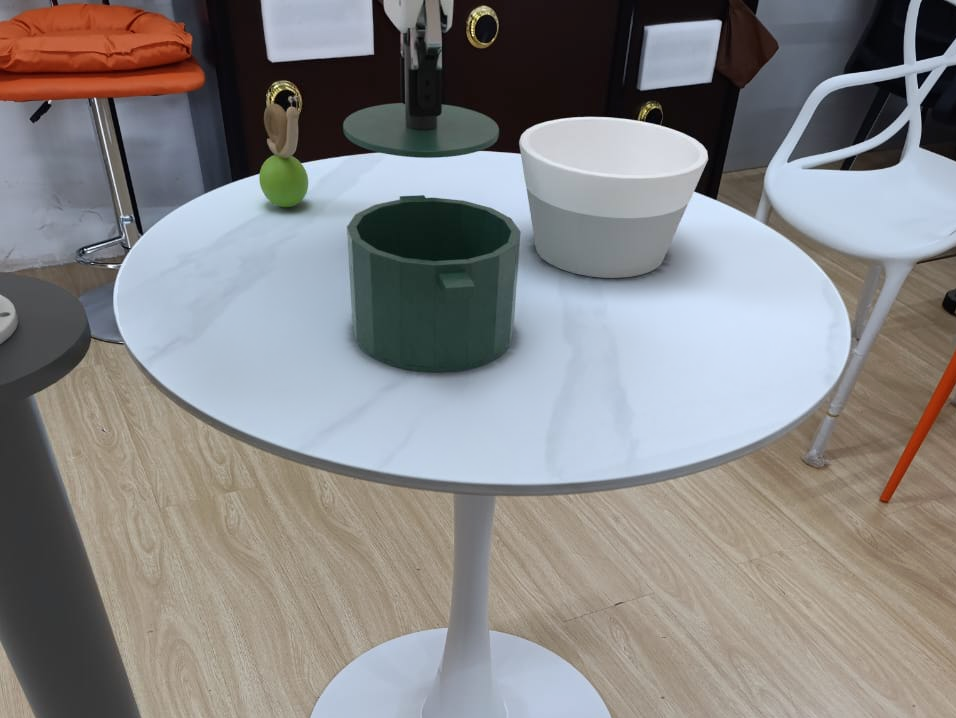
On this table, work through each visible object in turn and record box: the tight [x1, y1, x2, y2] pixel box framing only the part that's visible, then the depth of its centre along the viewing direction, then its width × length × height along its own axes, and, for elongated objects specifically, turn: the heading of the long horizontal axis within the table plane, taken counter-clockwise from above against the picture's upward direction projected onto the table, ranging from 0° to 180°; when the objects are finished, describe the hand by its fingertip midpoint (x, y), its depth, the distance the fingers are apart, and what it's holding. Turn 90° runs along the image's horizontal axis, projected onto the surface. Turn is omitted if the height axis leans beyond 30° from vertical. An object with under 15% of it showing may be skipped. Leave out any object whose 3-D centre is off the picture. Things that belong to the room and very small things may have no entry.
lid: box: [342, 40, 500, 159], centre depth 90 cm, size 16×16×8 cm
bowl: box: [518, 116, 709, 279], centre depth 97 cm, size 19×19×11 cm
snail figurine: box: [258, 94, 309, 208], centre depth 101 cm, size 5×6×12 cm
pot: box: [346, 194, 522, 373], centre depth 82 cm, size 15×20×10 cm
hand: (421, 107), depth 91 cm, fingers closed on lid, 3 cm apart
